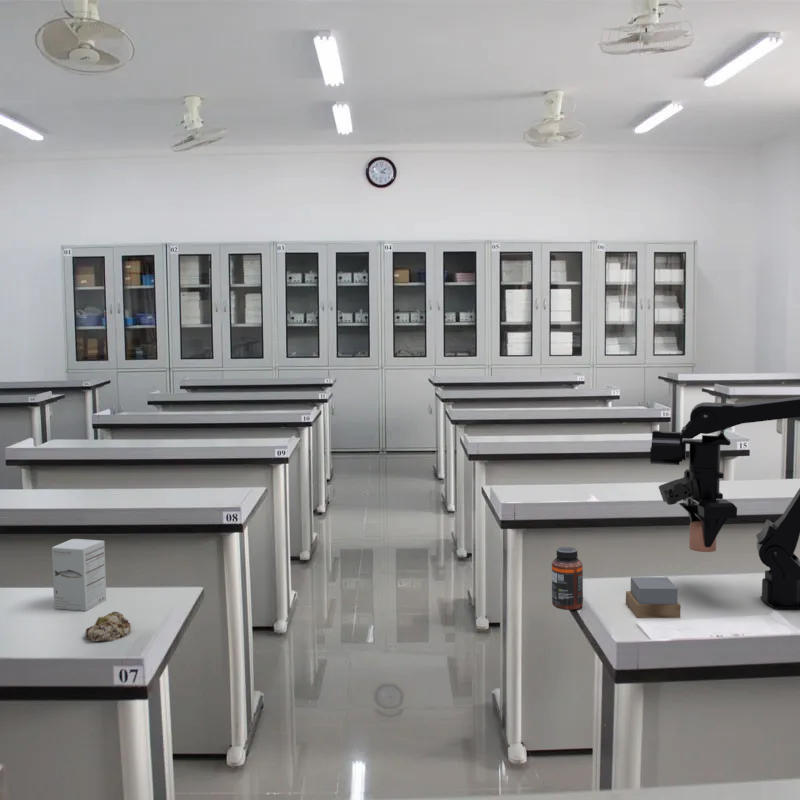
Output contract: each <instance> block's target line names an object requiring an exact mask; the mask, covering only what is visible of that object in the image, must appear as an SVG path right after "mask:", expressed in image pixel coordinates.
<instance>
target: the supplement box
mask: <svg viewBox="0 0 800 800" xmlns="http://www.w3.org/2000/svg"><path fill="white" fill-rule="evenodd" d="M105 550H106V549H105V540H100V539H99V540H98V539H84V538H83V539H82V538H72V539H68V540H67V541H64V542H61V543H59V544H57V545H55V546H52V547H51V559H52V583H53V585H52V586H53V608H54V610H57V609H60V610H73V611H80V612H81V611H82V612H87V611H88V610H91V609H92V608H94V607H97V606H98V605H100V604H102V603H103V602H105V601H107V581H106V580H107V578H106V552H105Z"/></svg>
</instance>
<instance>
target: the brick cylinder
mask: <svg viewBox="0 0 800 800" xmlns="http://www.w3.org/2000/svg"><path fill="white" fill-rule="evenodd" d="M688 548H689V549H690V550H691V551H695V552H700V553H712V552H713V553H714V552H716V551H717V537H716V538H715V540H714V542H713V544H712V546H711V547H705V545H704V539H703V531H702V523H701V521H694V522H691V521H690V522H689V545H688Z"/></svg>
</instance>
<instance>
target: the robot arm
mask: <svg viewBox="0 0 800 800" xmlns="http://www.w3.org/2000/svg"><path fill="white" fill-rule="evenodd" d="M799 417H800V396H793V397H785V398H778V399H777V398H776V399H769V400H767V399H766V400H761V401H759V400H758V401H753V402H752V401H751V402H745V403H727V402H726V403H725V402H706V401H703V402H700V403H698V404H696V405H695V406H694V407H692V409H691V412H690V416H689V420H688V422H687V423H686V425H684V426H682V429H681V431H662V430H656V429H653V431H652V433H651V446H650V447H649V449H650V452H649V454H650V455H649V456H650V457H649V458H650V461H649V462H650V465H669V466H680V465H681V462H683V461H686V459H687V457H686V456H687V454H686V453H687V452H686V451H687V445H689V453H688V454H689V456H688V457H689V458H688V461H689V462H688V469H685V471H684V474H683V477H681V478H679V479H674V480H671V481H669V482H666V483H663V484H660V485H659V486H658V490H659V493H660V496H661V498H662V501H663V502H664V503H666V504H667V505H669V506H670V505H675V504H678V502H679V504H678V505H680V506H681V507H682V508H683V509H684V510H685V511H686V512H687V514H688V517H689V520H690V522H694V521H701V523H702V531H703V539H704V545H705V547H711V546H712V544H713V542H714V540H715V538H716V539H717V537H718V535H719V533H720V531H721V530H722V529H723V528H722V527H723V526H725V525H724V524H726V521H727V520H728V519H737V517H738V507H737V506H736V505H735V504H734V503H733V502H732V501H730V500H728V499H724V494H723V493H721V492H720V483H721V482H720V480H721V479H724V473H723V472H722V471H721V446H730V445H731V440H730V439H729V438H728V437H727V436H726V435H725V434H724V432H723V431H724V430H727V429H730V428H733V427H736V426H738V425H743V424H750V423H751V424H752V423H757V422H765V421H766V422H767V421H776V420H783V419H793V418H799ZM716 432H719V433H718V434H717V435H713V434H714V433H716ZM700 434H702V435H701V439H698V438H697V439H694V438H695V437H698V436H699V435H700ZM710 434H712V435H710ZM681 501H682V502H681ZM756 539H757V541H756V549H757V552H758V553H757V554H758V557H759V560H760V561H761V563H762V564H763V565H765V566H766V567H767V568H769V569H768V570H764V577H763V578H762V580H761V582H762V583H761V595H760V600H762V601H763V603H764V602H765V604H767V605H768V606H770V607H771V608H772V609H775V610H800V558H799V557H798V556H797V555H796V554H795V551H796V549H797V545H798V542H799V539H800V487H799V488H798V490H797V491H796V493H795V495H794V497H793V498H792V499H791V501H790V503H789V504H788V506H787V507H786V508H785V510H784V512H783V513H782V515H781V516H780V517H779V518H778V519H777V520H775V521H774V522H772V521H770V519H766V520H765V522H764V524H763V527H762V529H761V530H760V532H759V533H756Z"/></svg>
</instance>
